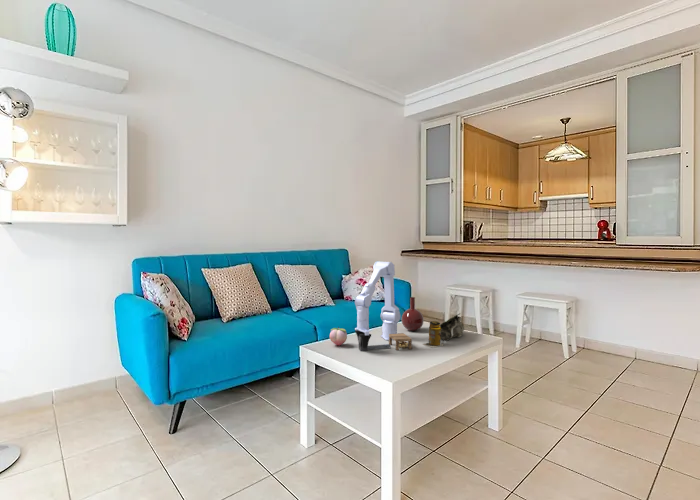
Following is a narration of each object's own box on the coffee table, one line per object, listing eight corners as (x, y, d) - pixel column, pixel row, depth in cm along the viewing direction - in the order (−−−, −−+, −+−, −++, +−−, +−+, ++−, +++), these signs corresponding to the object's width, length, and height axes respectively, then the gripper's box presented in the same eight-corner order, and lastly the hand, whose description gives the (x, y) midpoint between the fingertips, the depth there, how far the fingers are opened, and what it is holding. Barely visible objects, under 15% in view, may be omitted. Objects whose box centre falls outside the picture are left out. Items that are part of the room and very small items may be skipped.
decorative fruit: (349, 343, 203) (349, 325, 203) (345, 348, 195) (344, 328, 195) (332, 342, 206) (332, 324, 205) (327, 346, 198) (327, 327, 198)
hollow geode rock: (440, 351, 205) (459, 334, 198) (424, 333, 210) (442, 315, 203) (459, 338, 227) (477, 323, 220) (444, 322, 232) (461, 306, 225)
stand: (388, 344, 202) (388, 334, 202) (403, 343, 204) (403, 333, 204) (396, 350, 192) (396, 339, 192) (411, 349, 194) (411, 338, 194)
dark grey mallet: (358, 349, 194) (358, 335, 194) (389, 346, 198) (389, 333, 198) (360, 351, 190) (360, 337, 190) (391, 348, 194) (391, 335, 194)
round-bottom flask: (412, 327, 241) (412, 295, 240) (428, 331, 230) (428, 297, 229) (397, 330, 233) (397, 297, 233) (412, 334, 222) (412, 300, 222)
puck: (396, 346, 200) (396, 341, 200) (405, 345, 201) (405, 341, 201) (400, 348, 195) (400, 344, 195) (409, 348, 196) (409, 343, 196)
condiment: (444, 345, 200) (444, 322, 200) (432, 347, 196) (432, 324, 195) (433, 342, 207) (434, 319, 206) (422, 344, 202) (422, 321, 201)
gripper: (351, 316, 198) (351, 342, 198) (359, 322, 184) (359, 350, 184) (364, 315, 200) (364, 341, 200) (373, 321, 186) (373, 349, 186)
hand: (363, 346), depth 192 cm, fingers open, 6 cm apart
